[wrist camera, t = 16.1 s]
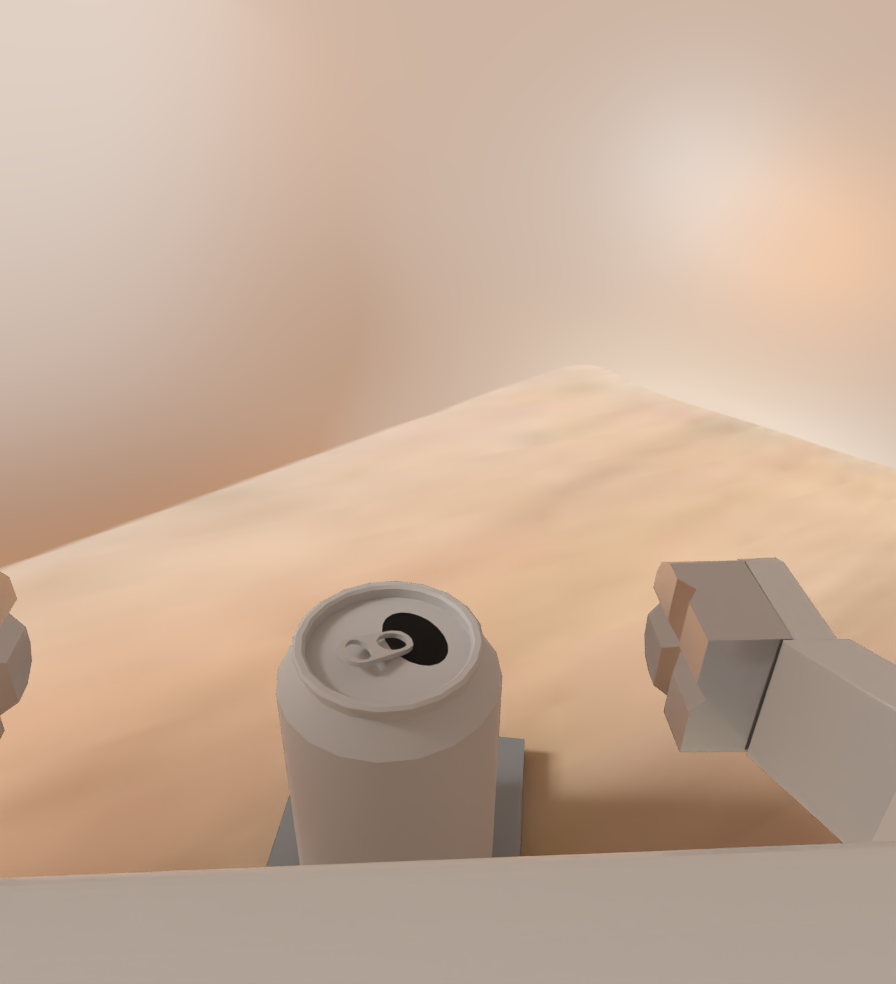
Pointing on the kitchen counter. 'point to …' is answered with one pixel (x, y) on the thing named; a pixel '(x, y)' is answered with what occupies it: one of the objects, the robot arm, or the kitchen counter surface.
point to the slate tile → (504, 817)
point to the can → (390, 727)
